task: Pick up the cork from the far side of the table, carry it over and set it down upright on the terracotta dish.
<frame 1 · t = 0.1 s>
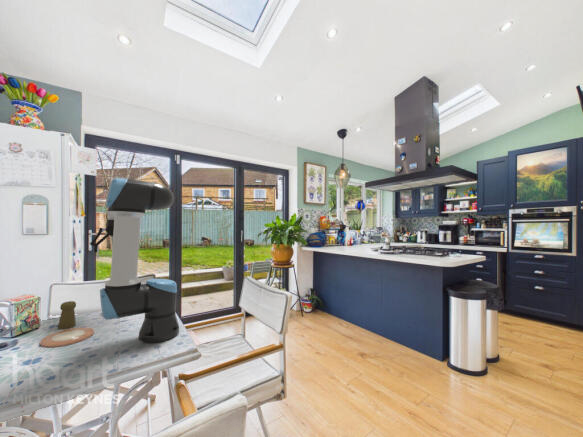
hand: (113, 258, 131), 28 cm above the table, tool pointing down, fingers open, 13 cm apart
cork: (66, 327, 107), on the table
die: (114, 313, 125), on the table
dish: (68, 337, 97), on the table
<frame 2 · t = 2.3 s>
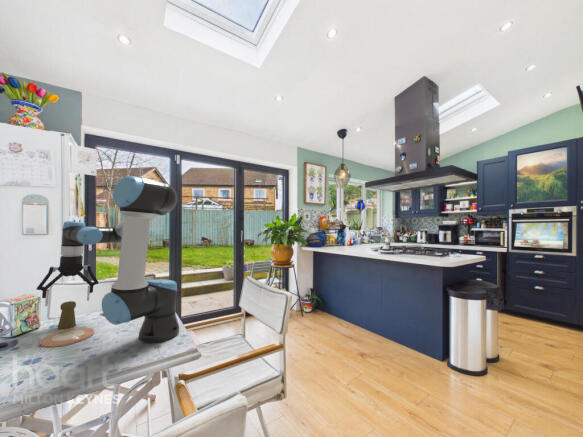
hand: (68, 302, 107), 11 cm above the table, tool pointing down, fingers open, 13 cm apart
nothing on the table moved.
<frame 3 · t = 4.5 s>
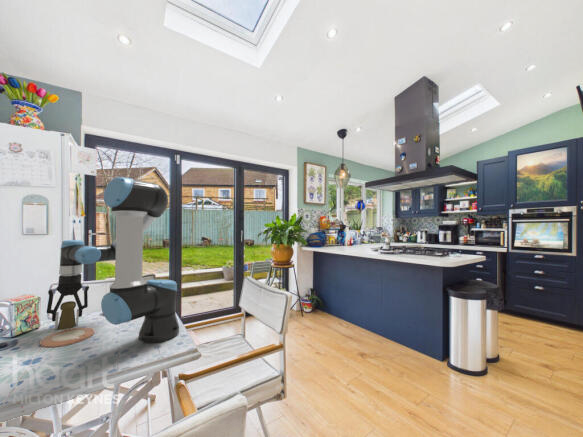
hand: (66, 326, 107), 0 cm above the table, tool pointing down, fingers closed on cork, 6 cm apart
cork: (66, 327, 107), on the table, touching gripper
everything else where it was.
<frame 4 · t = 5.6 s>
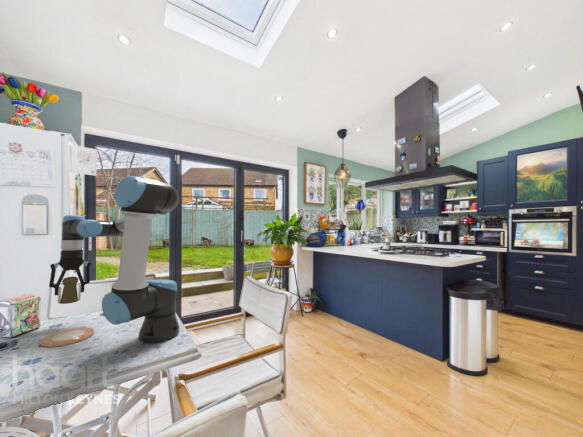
hand: (69, 301, 107), 11 cm above the table, tool pointing down, fingers closed on cork, 6 cm apart
cork: (69, 302, 107), point 11 cm above the table, touching gripper
everything else where it was.
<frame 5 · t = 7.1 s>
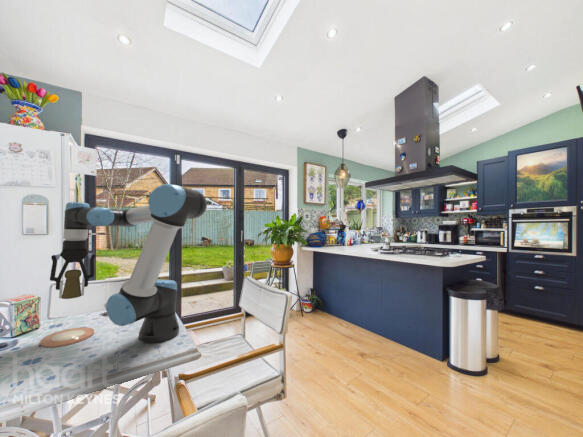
hand: (71, 296, 98), 17 cm above the table, tool pointing down, fingers closed on cork, 6 cm apart
cork: (71, 297, 97), point 16 cm above the table, touching gripper
everything else where it was.
when the fingers open (2 cm above the table, at t = 9.2 s): cork stays where it is, resting on dish.
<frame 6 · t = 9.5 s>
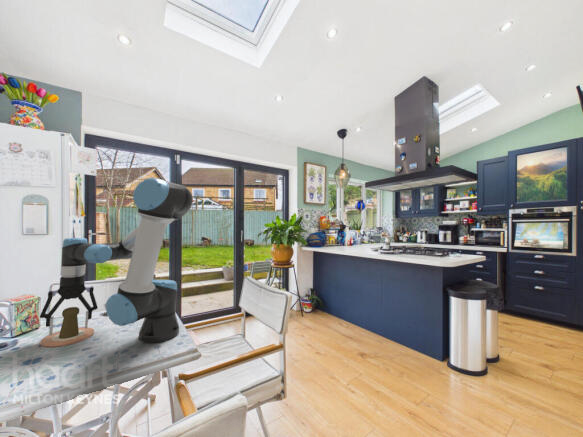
hand: (69, 330, 97), 3 cm above the table, tool pointing down, fingers open, 10 cm apart
cork: (68, 335, 97), point 1 cm above the table, touching dish
everything else where it was.
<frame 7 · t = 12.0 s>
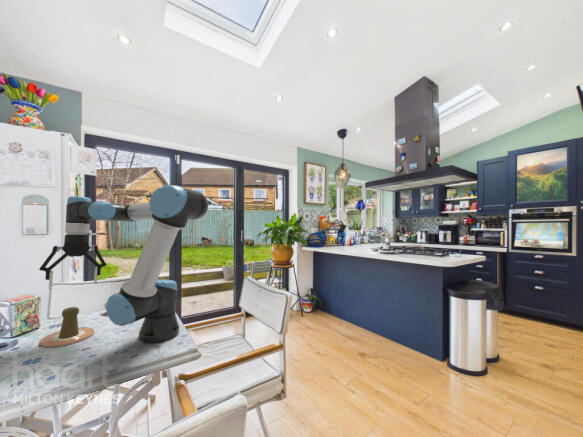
hand: (73, 285, 98), 21 cm above the table, tool pointing down, fingers open, 13 cm apart
nothing on the table moved.
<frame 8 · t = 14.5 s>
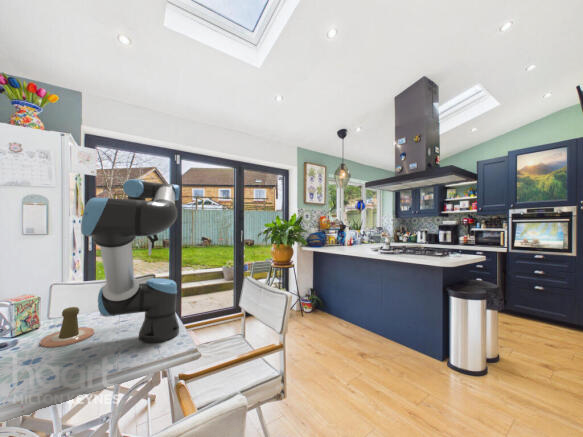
hand: (133, 255, 114), 32 cm above the table, tool pointing down, fingers open, 13 cm apart
nothing on the table moved.
at the end: cork inside the target area on the dish (0.3 cm from its centre), point 0.7 cm above the dish's base; cork tilted 0°; the gripper is holding nothing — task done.
